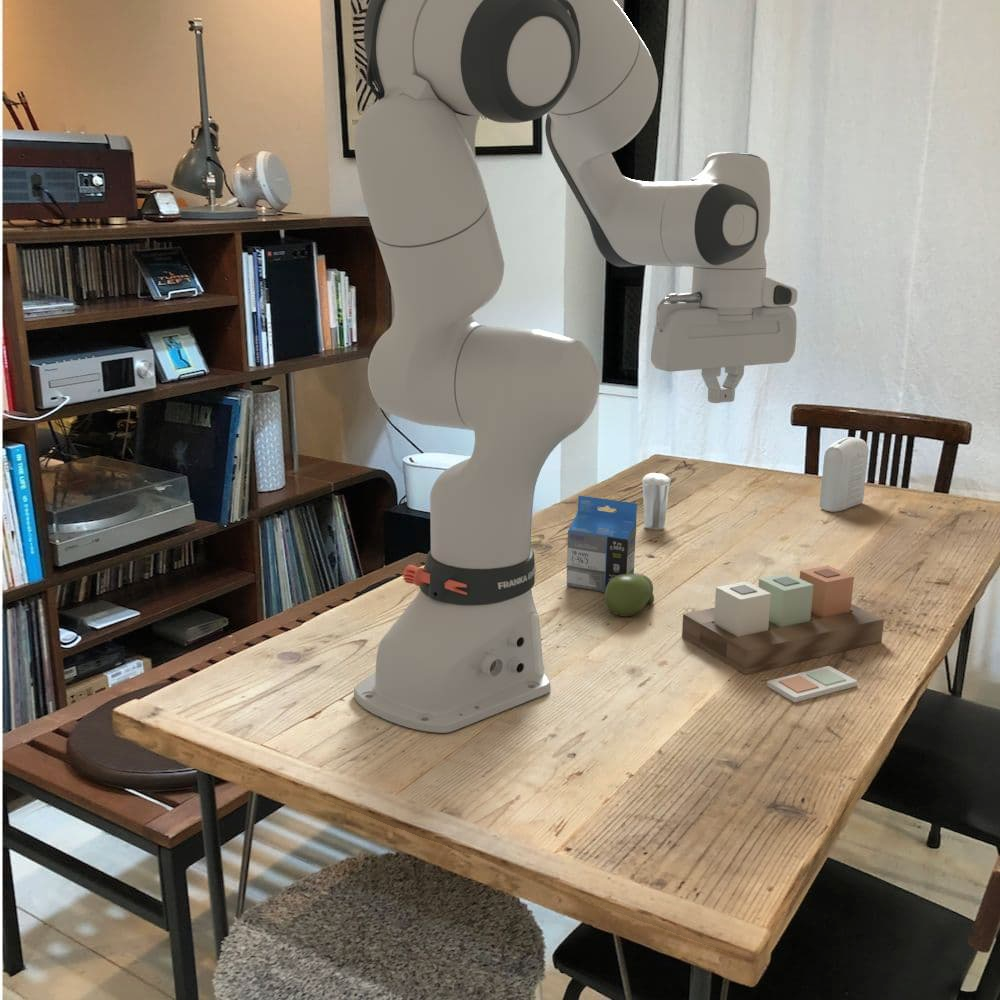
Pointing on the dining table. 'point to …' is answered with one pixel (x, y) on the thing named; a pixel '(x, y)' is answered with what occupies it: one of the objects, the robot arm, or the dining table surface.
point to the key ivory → (742, 608)
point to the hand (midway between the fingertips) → (720, 401)
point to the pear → (628, 594)
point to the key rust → (829, 590)
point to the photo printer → (844, 474)
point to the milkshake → (655, 500)
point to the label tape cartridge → (600, 543)
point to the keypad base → (783, 639)
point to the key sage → (788, 599)
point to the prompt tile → (811, 683)
